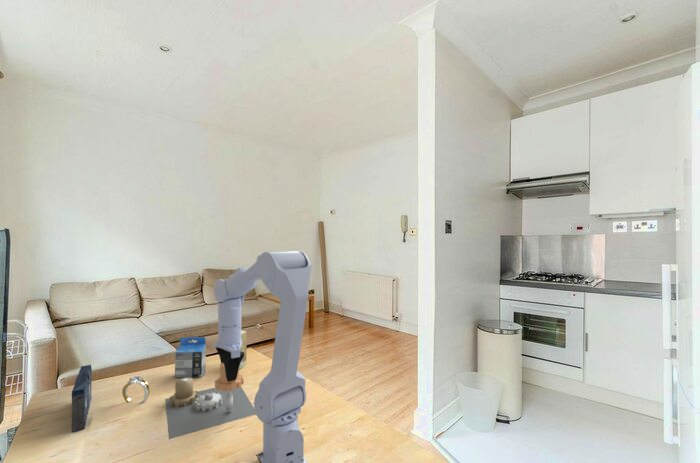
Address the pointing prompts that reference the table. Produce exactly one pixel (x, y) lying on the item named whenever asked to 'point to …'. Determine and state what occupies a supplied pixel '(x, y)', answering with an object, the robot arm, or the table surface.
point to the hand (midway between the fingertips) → (229, 376)
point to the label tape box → (190, 357)
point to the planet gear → (224, 384)
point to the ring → (139, 381)
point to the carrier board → (203, 408)
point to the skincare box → (243, 347)
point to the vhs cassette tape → (81, 398)
